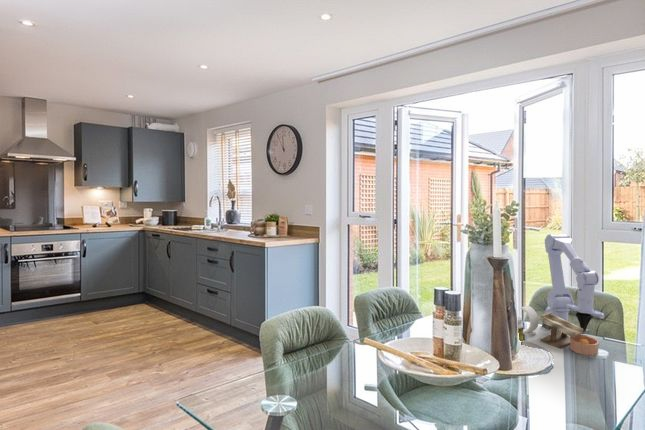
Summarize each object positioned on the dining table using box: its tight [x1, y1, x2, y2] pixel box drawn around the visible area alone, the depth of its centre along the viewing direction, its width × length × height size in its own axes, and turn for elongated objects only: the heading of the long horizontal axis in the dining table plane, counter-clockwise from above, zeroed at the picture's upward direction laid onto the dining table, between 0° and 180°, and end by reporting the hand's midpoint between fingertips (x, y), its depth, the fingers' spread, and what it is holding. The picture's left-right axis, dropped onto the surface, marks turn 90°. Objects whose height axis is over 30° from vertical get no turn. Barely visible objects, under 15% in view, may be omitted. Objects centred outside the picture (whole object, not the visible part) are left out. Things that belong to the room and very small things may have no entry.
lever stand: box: [540, 326, 570, 349], centre depth 192 cm, size 9×13×8 cm
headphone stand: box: [520, 305, 540, 337], centre depth 200 cm, size 5×6×12 cm
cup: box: [569, 334, 600, 356], centre depth 184 cm, size 10×10×4 cm
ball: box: [579, 339, 589, 344], centre depth 184 cm, size 4×4×4 cm
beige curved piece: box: [539, 312, 590, 338], centre depth 193 cm, size 16×12×6 cm
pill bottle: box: [517, 316, 524, 342], centre depth 191 cm, size 6×6×11 cm
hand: (583, 329), depth 189 cm, fingers closed, pressing on beige curved piece
